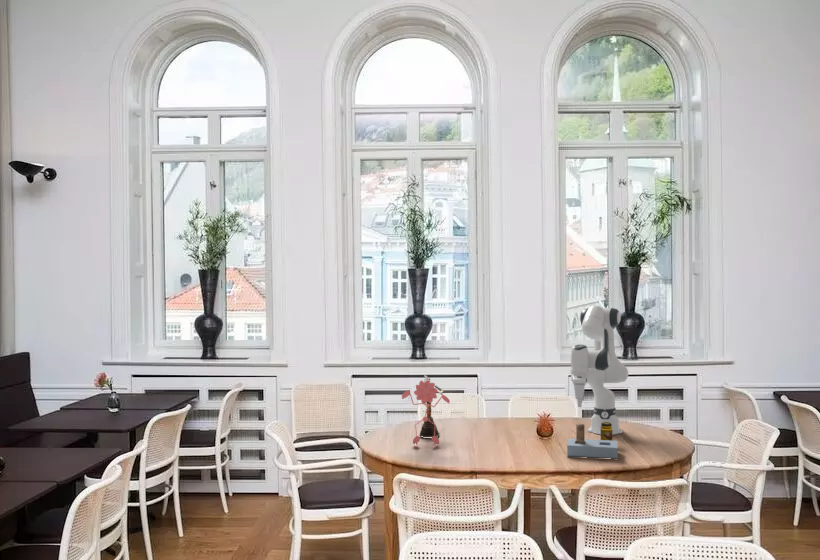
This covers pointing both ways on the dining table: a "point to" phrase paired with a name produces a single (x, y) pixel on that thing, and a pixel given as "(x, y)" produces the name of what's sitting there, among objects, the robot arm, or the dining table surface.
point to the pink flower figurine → (425, 394)
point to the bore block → (593, 449)
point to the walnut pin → (580, 434)
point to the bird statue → (430, 418)
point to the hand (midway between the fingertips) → (580, 404)
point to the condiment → (606, 431)
